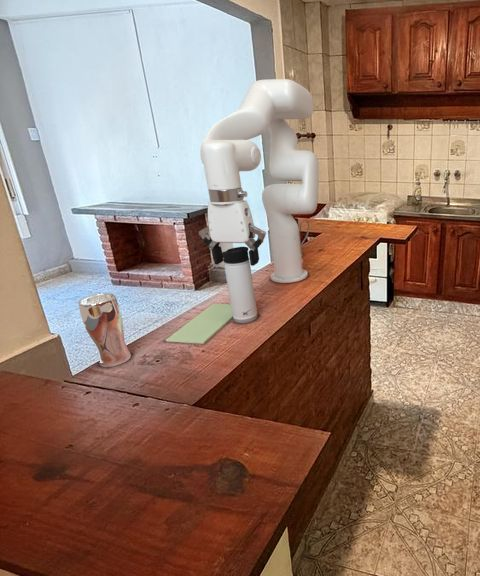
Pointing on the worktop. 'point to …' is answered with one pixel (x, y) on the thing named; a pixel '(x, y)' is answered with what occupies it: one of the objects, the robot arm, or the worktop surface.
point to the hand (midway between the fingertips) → (236, 263)
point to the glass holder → (300, 230)
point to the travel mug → (240, 284)
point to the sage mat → (203, 325)
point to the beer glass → (105, 328)
